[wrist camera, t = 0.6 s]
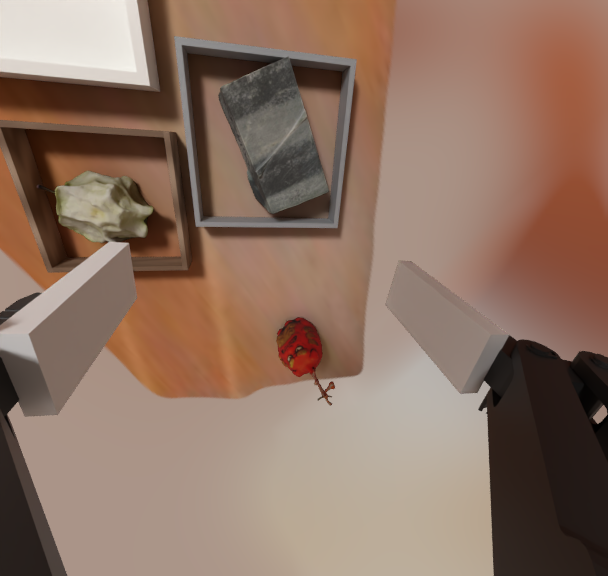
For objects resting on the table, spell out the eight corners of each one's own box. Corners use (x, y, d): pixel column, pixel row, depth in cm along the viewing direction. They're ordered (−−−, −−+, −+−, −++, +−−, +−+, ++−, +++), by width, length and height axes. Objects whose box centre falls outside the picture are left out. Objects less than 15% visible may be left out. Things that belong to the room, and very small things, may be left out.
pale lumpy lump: (65, 197, 36) (13, 193, 28) (128, 158, 36) (93, 144, 28) (116, 258, 39) (81, 270, 31) (174, 223, 39) (154, 225, 31)
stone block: (262, 211, 40) (263, 220, 35) (211, 95, 33) (205, 87, 28) (321, 187, 40) (330, 193, 35) (283, 65, 33) (288, 53, 28)
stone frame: (180, 45, 30) (174, 36, 28) (347, 65, 34) (356, 59, 31) (199, 220, 39) (195, 226, 36) (331, 222, 42) (337, 228, 39)
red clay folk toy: (292, 308, 48) (310, 371, 35) (324, 325, 50) (352, 389, 37) (267, 340, 50) (275, 411, 37) (299, 355, 53) (317, 426, 39)
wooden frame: (15, 121, 31) (-10, 119, 28) (176, 132, 34) (169, 131, 31) (63, 261, 38) (47, 272, 35) (192, 260, 41) (187, 270, 38)
